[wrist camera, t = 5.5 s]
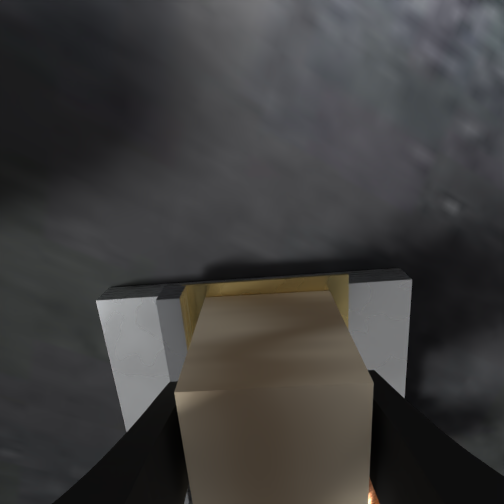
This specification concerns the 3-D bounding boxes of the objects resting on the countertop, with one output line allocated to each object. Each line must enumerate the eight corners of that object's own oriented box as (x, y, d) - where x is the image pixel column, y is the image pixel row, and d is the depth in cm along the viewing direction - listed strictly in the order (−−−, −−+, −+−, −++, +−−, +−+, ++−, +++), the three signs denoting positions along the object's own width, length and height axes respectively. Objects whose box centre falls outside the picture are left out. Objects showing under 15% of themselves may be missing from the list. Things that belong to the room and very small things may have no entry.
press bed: (399, 258, 14) (428, 282, 11) (389, 463, 17) (410, 515, 14) (106, 278, 14) (77, 305, 12) (149, 475, 17) (133, 526, 15)
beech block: (329, 290, 13) (373, 383, 8) (329, 393, 14) (366, 525, 9) (205, 297, 13) (174, 392, 8) (217, 398, 14) (197, 531, 9)
